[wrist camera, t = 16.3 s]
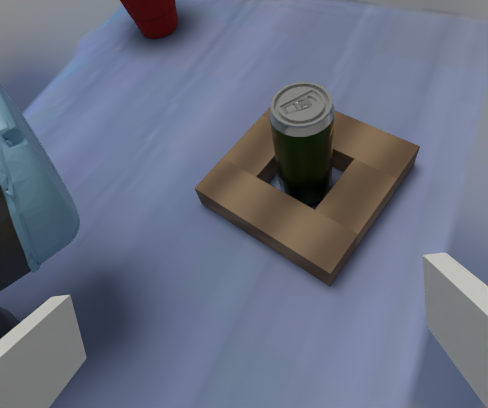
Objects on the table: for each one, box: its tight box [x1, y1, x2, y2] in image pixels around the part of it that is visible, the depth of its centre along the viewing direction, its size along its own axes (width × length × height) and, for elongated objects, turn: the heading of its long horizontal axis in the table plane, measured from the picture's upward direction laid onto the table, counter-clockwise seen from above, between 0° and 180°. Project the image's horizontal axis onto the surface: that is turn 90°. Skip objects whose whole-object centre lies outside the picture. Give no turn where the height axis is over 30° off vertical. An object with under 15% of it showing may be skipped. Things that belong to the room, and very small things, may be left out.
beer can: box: [269, 82, 335, 205], centre depth 37 cm, size 5×5×12 cm
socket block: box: [195, 106, 420, 286], centre depth 41 cm, size 16×16×3 cm
